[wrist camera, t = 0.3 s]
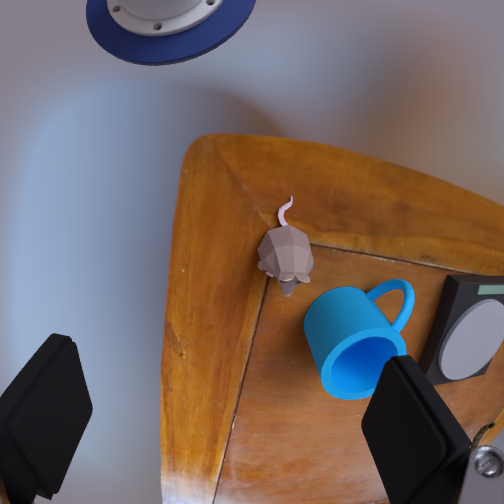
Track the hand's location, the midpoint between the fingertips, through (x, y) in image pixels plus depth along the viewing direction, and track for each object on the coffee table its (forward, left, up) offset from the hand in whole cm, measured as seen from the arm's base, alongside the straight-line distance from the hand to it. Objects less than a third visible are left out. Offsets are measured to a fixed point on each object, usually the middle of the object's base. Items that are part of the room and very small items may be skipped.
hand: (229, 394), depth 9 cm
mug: (+9, +13, -22) cm, 27 cm away
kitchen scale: (+12, +31, -22) cm, 40 cm away
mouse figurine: (+1, +5, -22) cm, 22 cm away
